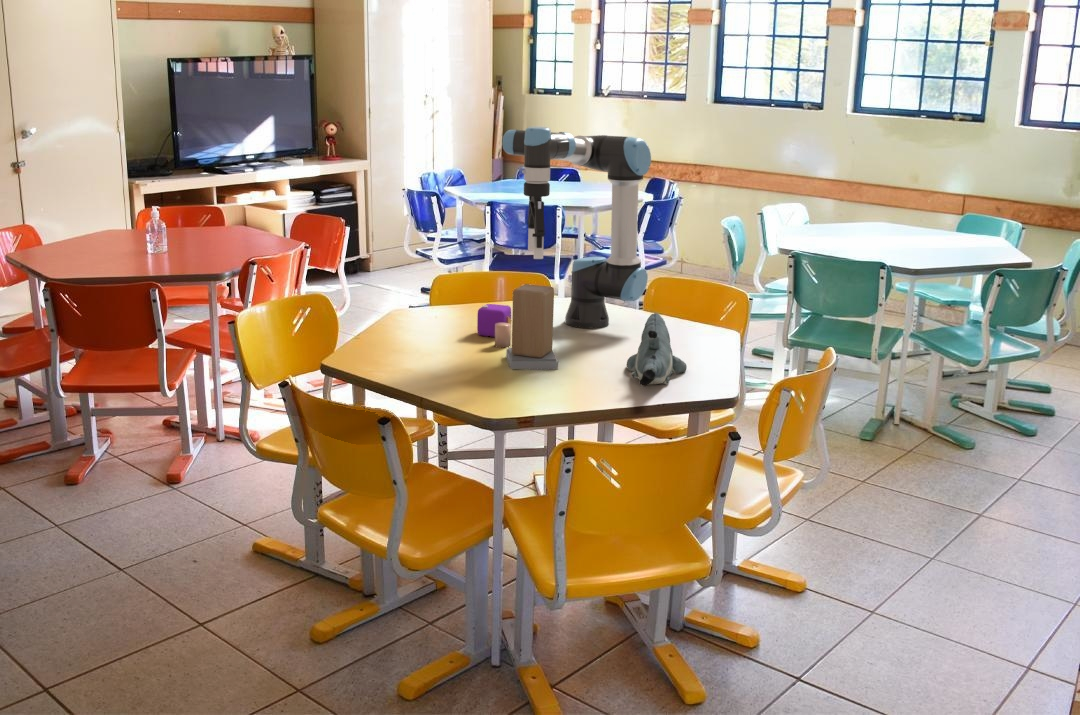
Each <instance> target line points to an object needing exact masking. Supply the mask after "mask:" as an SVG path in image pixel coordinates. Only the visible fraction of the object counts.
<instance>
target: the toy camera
mask: <svg viewBox="0 0 1080 715" xmlns="http://www.w3.org/2000/svg"><path fill="white" fill-rule="evenodd" d="M476 316H477V320H476V322H477V323H476V324H477V326H476V328H477V334H478V335H479V336H481V337H488V336H490V337H492V338H495V324H496V323H509V324H511V325H512V307H511V306H510V305H504V304H495V303H494V304H493V303H486V304H484V305H482V306H481V307H480V308H478V309H477V315H476Z"/></svg>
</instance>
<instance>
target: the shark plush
mask: <svg viewBox="0 0 1080 715" xmlns="http://www.w3.org/2000/svg"><path fill="white" fill-rule="evenodd" d="M640 339H641V341H640V344H639V346H638V347H637V348H638V349H637V353H636V354H635V353H634V354H632V355H631V356H629V358H627V361H626V368H627V367H628V368H627V369H628V371H630V372H632V373H631V376H632V378H633V379H639V385H641V386H643V387H647V386H649V385H658V384H663V385H668V384H669V383H670V380H671V379H670V377H671V376H672V374H677V375H678V374H682V372H683V373H685V372H686V370H687V367H688V366H687V364H686V362H685V361H684V360H682V359H681V358H679V357H678V356H675V355H673V349H672V346H671V338H670V333H669V330H668V327H667V325H666V321H665V320H664V318H663V317H662V315H661V314H660V313H658V312H654V313H650V315H649V317H648V318H647V320H646V322H645V324H644V327H643V331H642V333H641V338H640ZM684 371H685V372H684Z"/></svg>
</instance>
